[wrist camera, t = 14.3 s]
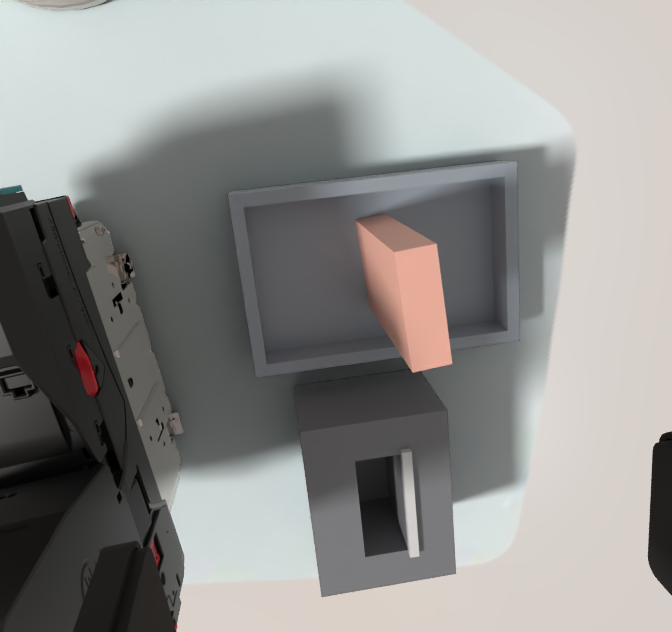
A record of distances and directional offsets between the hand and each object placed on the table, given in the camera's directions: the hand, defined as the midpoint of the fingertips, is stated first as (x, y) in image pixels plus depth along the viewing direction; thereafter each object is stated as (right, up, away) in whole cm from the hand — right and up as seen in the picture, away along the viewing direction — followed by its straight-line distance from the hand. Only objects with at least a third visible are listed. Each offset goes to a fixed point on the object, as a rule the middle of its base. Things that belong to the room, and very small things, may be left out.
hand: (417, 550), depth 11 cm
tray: (+1, +8, +29) cm, 30 cm away
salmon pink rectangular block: (+1, +8, +28) cm, 30 cm away
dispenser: (+1, -6, +33) cm, 33 cm away
